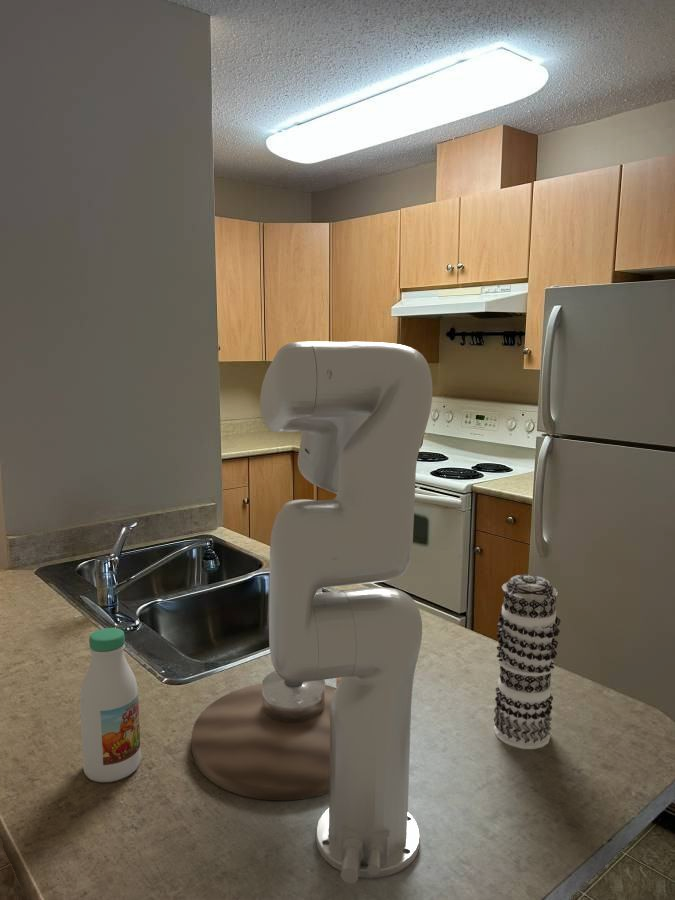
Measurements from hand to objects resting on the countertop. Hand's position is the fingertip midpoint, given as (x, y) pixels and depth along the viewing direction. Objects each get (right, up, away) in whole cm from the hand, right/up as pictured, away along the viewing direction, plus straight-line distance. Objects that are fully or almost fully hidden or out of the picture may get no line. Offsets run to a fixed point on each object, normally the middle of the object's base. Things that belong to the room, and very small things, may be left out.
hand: (303, 675), depth 115 cm
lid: (-1, -2, -8) cm, 8 cm away
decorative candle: (+35, -6, -11) cm, 37 cm away
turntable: (-2, -5, -14) cm, 15 cm away
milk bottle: (-26, -6, -21) cm, 34 cm away
